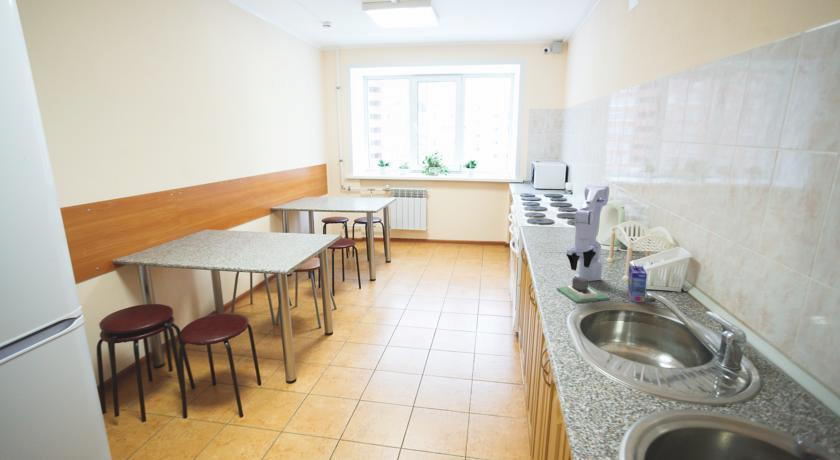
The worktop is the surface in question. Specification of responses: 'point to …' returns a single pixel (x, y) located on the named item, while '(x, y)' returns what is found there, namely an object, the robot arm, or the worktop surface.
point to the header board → (581, 297)
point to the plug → (580, 285)
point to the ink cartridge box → (637, 283)
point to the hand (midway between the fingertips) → (580, 268)
